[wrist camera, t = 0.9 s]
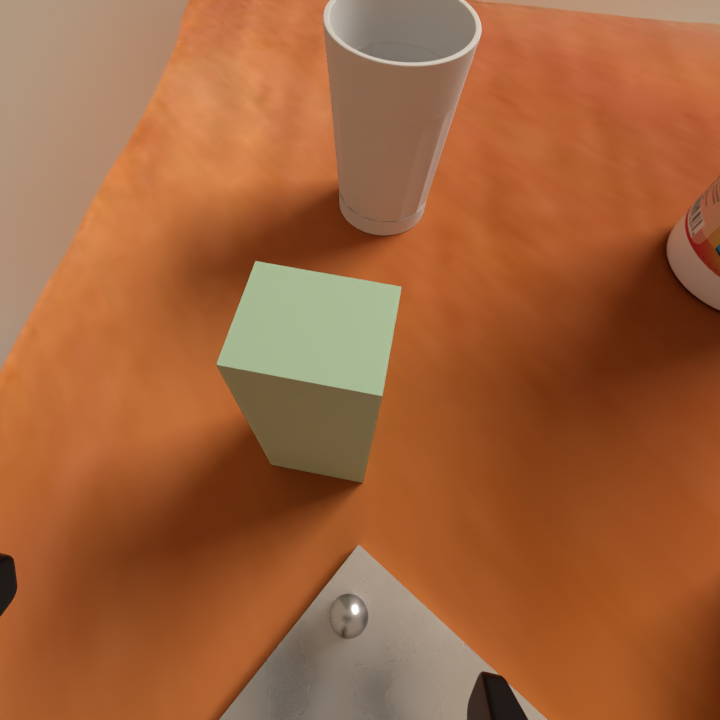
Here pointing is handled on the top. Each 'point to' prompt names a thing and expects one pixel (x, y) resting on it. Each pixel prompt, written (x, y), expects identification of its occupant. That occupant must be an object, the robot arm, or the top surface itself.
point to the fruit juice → (699, 247)
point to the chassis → (366, 658)
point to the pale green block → (311, 365)
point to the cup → (394, 101)
